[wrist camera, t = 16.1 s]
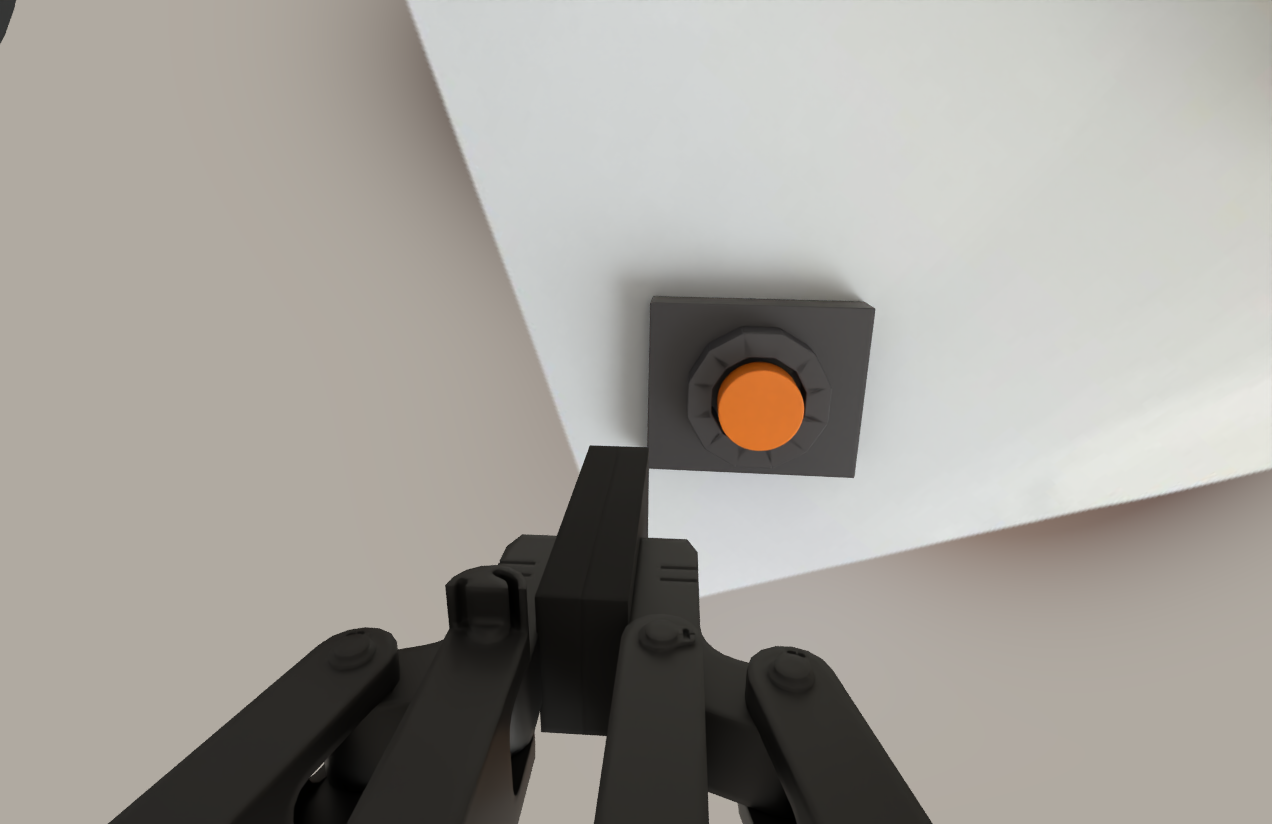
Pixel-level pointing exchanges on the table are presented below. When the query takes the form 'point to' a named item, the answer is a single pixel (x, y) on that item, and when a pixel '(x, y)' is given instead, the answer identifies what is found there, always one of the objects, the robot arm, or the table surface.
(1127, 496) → the table surface
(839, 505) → the table surface
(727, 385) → the button
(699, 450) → the control block
